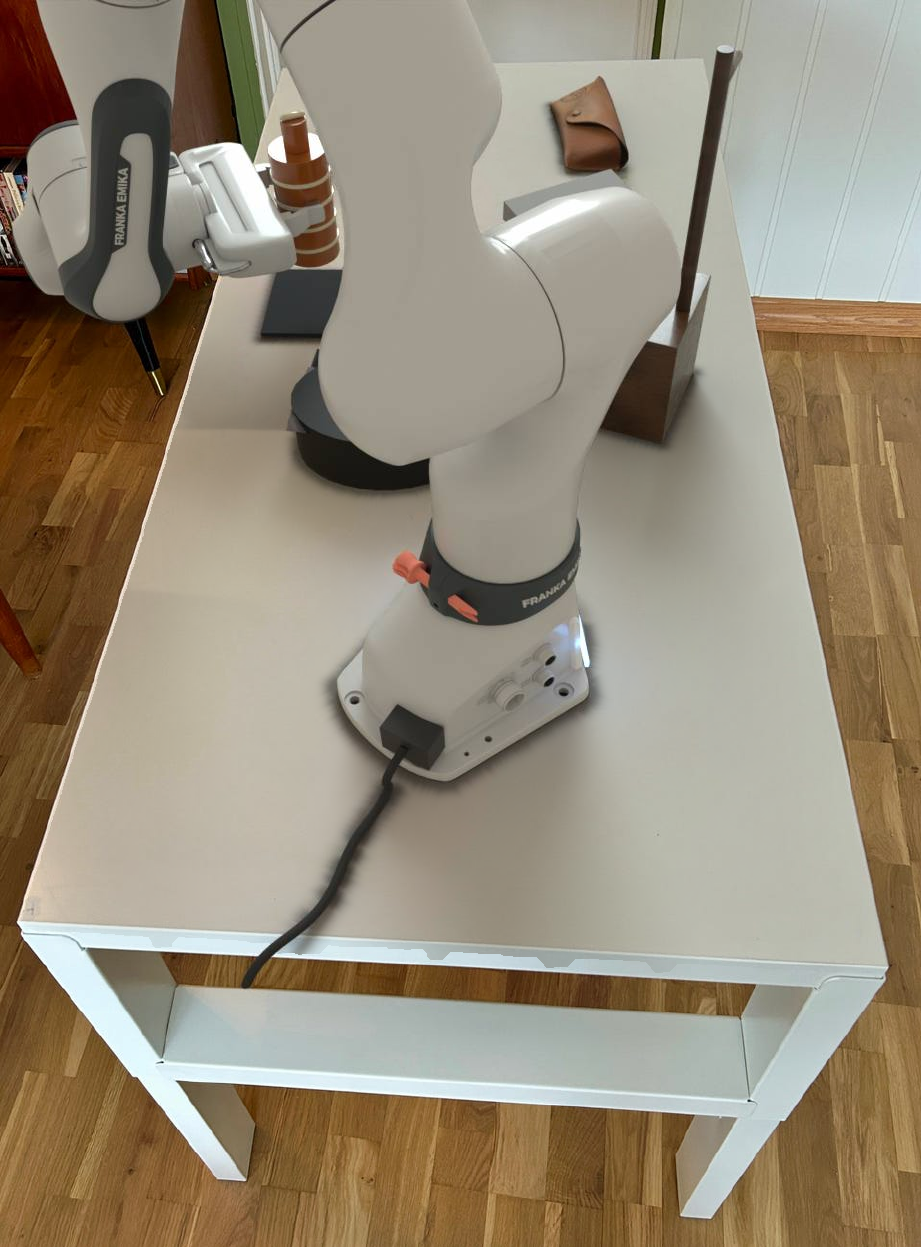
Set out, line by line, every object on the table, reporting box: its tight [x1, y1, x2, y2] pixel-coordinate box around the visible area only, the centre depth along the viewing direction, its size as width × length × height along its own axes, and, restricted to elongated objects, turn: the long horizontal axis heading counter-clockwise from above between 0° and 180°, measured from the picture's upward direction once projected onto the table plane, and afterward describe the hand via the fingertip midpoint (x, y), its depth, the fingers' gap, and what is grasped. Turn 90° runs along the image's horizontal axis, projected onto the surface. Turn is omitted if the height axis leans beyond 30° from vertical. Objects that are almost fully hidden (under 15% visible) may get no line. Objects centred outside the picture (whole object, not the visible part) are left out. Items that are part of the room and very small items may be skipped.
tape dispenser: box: [286, 348, 430, 491], centre depth 107 cm, size 14×18×8 cm
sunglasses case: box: [548, 75, 630, 172], centre depth 143 cm, size 18×7×7 cm
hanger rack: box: [599, 44, 744, 445], centre depth 99 cm, size 12×12×36 cm
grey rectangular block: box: [502, 169, 634, 222], centre depth 129 cm, size 10×4×15 cm
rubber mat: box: [260, 268, 343, 339], centre depth 123 cm, size 12×12×1 cm
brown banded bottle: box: [267, 109, 341, 269], centre depth 112 cm, size 6×6×16 cm
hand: (311, 191), depth 113 cm, fingers closed on brown banded bottle, 6 cm apart
